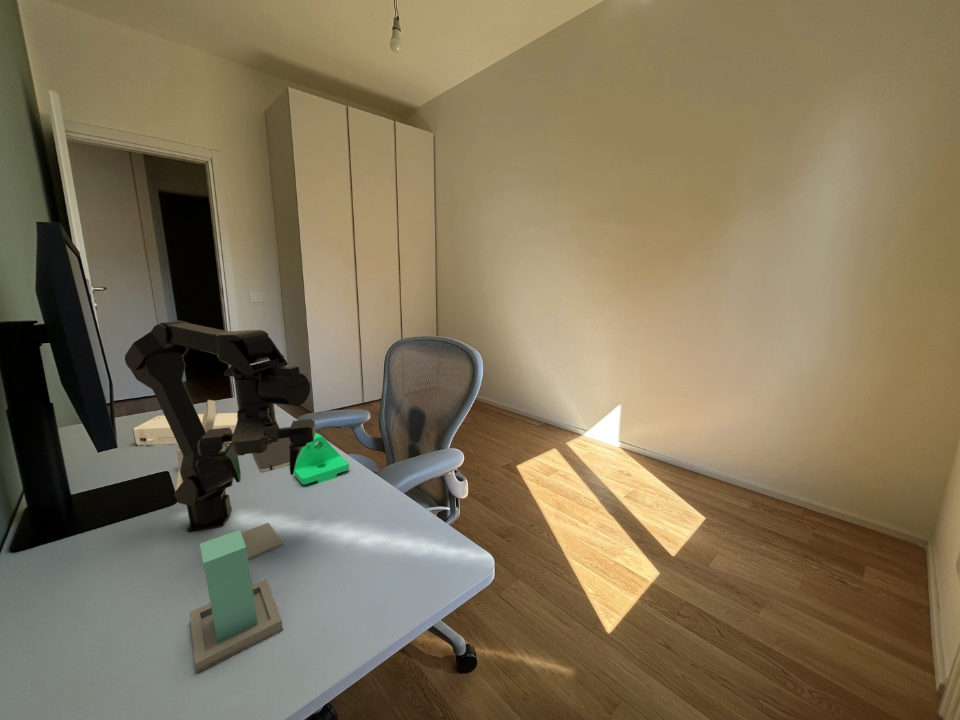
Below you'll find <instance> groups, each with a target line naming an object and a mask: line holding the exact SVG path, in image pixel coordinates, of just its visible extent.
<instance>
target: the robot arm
mask: <svg viewBox="0 0 960 720" xmlns="http://www.w3.org/2000/svg"><path fill="white" fill-rule="evenodd" d="M190 349H193V350H197V351H201V352H205V353H210V354H213V355H215V356H217V358H218V360H219V361H220V362H221V363H225V364H227V365H229V368H228V369H226V370H225V371H224V374H223V375H224V376H226V377H231V378H232V377H233V383H234V388H235V389H234V390H235V395H236V400H237V401H236V402H237V408H238V409H237V411H236V413H237V418H238V420H237V424H236V427H235V430H234V433H232V430H231V429H230V427H229V428H220V429H210V430H208V431H207V432H205V430H204V427H203V425H202V423H201V421H200V419H199V416H198V414H199V413H198V412H197V410H196V408H195V406H194V403H193V401H192V399H191V396H190V395H189V392H188V390H187V388H186V386H185V383H184V382H183V377H184V373H185V370H186V363H185V360H184V356H185V355H186V354H187V353H188V352H189V350H190ZM124 362H125V365H126V366H127V368H128V369H130V371H131V372H132V374H133V376H134V378H135V379H136V381H138V382H140V383H141V384H143V385H144V386H146V387H148V388H149V389H151V390H152V392H153V394H154V395H155V398H156V400H157V401H158V404H159V407H160V408H161V410H162V412H163V414H164V415H163V416H165V417H166V419H167V422H168V424H169V426H170V428H171V430H172V432H173V434H174V437H175V439H176V441H177V443H178V445H177V446H178V447H180V450H181V452H182V454H183V460H182V464H181V469H180V474H181V477H182V480H183V482H182V484H181V485H180V486H179V488H178V489H177V490H176V489H175V491H174V493H173V495H174V497H175V499H176V501H177V503H178V504H181V505H186V508H187V514H188V519H189V525H188V526H187V528H186V531H187V532H194V531H200V530H207V529H213V528H214V529H215V528H219V527H223V526H224V525H225V523H226V521H227V519H228V518H229V517H230V515H231V513H232V510H233V509H232V507H231V506H232V505H231V504H232V503H231V500H230V495H229V494H227V492H226V491H227V490H226V489H227V488H230V487H233V482H234V480H235V482H236V483H240V482H241V479H242V476H241V475H242V474H241V473H242V472H241V466H240V462H239V457H238V456H245V455H248V454H253V453H257V454H258V453H263V452H265V451H266V450H267V445H268V444H271V443H272V442H278V440H279V439H280V438H288V437H290V441H291V443H290V445H289V450H290V465H289V474H290V476H293V475H294V474H293V473H294V469H295V465H296V461H297V456H298V453H299V450H300V448H301V447H305V446H306V445H307V443H310V442H312V441H314V437H315V433H316V434H317V427H316V422H315V421H314V420H313V419H312V418H309V419H308V418H307V419H299V420H292V423H291V424H290V426H286V427H280V426H279V424H278V421H277V419H276V411H275V404H276V405H284V406H293V407H299V406H301V405H303V404H304V403H306V401H307V400H308V398H309V396H310V393H311V383H310V382H309V379H308V377H306V375H305V374H303V373H301V372H300V367H299V366H298V365H297V366H296V365H292V366H288V365H289V363H288V362H287V360H286V359H285V357H284V355H283V354H282V353H281V351H280V350H279V349H278V347H277V346H276V344H275V343H274V341H273V340H272V338H271V337H270V336H269V333H268V332H266V331H264V330H262V329H247V330H245V329H244V330H234V331H233V330H232V331H230V330H229V331H228V330H224V329H218V328H215V327H208V326H204V325H199V324H194V323H190V322H187V321H185V320H175V321H174V320H173V321H165V322H159V323H158V324H155V325H154V327H153V328H152V329H151V331H149V332H147V333H146V334H144V335H143V336H142V337H140V338H138V339H137V340H135V341H134V342H133V343H132V344H131V346H130V347H129V348H128V350H127V352H126V353H125V354H124Z"/></svg>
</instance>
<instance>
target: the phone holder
mask: <svg viewBox="0 0 960 720" xmlns="http://www.w3.org/2000/svg"><path fill="white" fill-rule="evenodd" d="M216 411H217V409H216V400H211V399H207V401H206V404H205V407H204V412H203V414H204V416H203V421H202V425H203V427H204V430H205V432H207V431H208V430H210V429H213V425H214V421H215V417H216V413H217V412H216ZM175 452H176V456H177V460H178V473H177V479H176V486H175V487H176V488H175V491H176V490H177V489H178V488H179V486H180V485H181V484H182V482H183V480H182V477H181V474H180V469H181V464H182V460H183V454H182V452H181V450H180V447H179V446H177V448H176V451H175Z"/></svg>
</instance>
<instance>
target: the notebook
mask: <svg viewBox="0 0 960 720" xmlns="http://www.w3.org/2000/svg"><path fill="white" fill-rule="evenodd" d="M290 443H291V441H290V437H288V438H280V439H279V440H278V442H272V443H271V444H268V445H267V450H266V451H265V452H263V453H258V454H257V453H252V455H253V457H254V459H255V461H256V464H257V465H258V466H257V467H259V470H260V471H261V472H262V473H264V472H268V471H273V470H275V469H280V468H283V467H287V466H290V450H289V445H290ZM302 448H303V447H301V448H300V450H299V453H298V456H299V454H300V452H301V450H302ZM298 456H297V458H298Z"/></svg>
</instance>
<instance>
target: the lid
mask: <svg viewBox="0 0 960 720" xmlns="http://www.w3.org/2000/svg"><path fill="white" fill-rule="evenodd" d="M270 524H271V523H269V522H266V523H263V524H261V525H259V526H256V527H253V528H251V529H248V530H246V531H243V532H241V534H242V537H243V540H244V543H245V546H246V550H247V557H248V561H250V560H252V559H254V558H257V557H259V556H261V555H263V554H266V553H268V552H271V551H272V550H275V549H277V548H279V547H282V546H283V545H284V544H283V542H282V540H281V538H280V537H279V536H278V534H277V533H276V531H275V530H274V529H273V527H272V525H270Z"/></svg>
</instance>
